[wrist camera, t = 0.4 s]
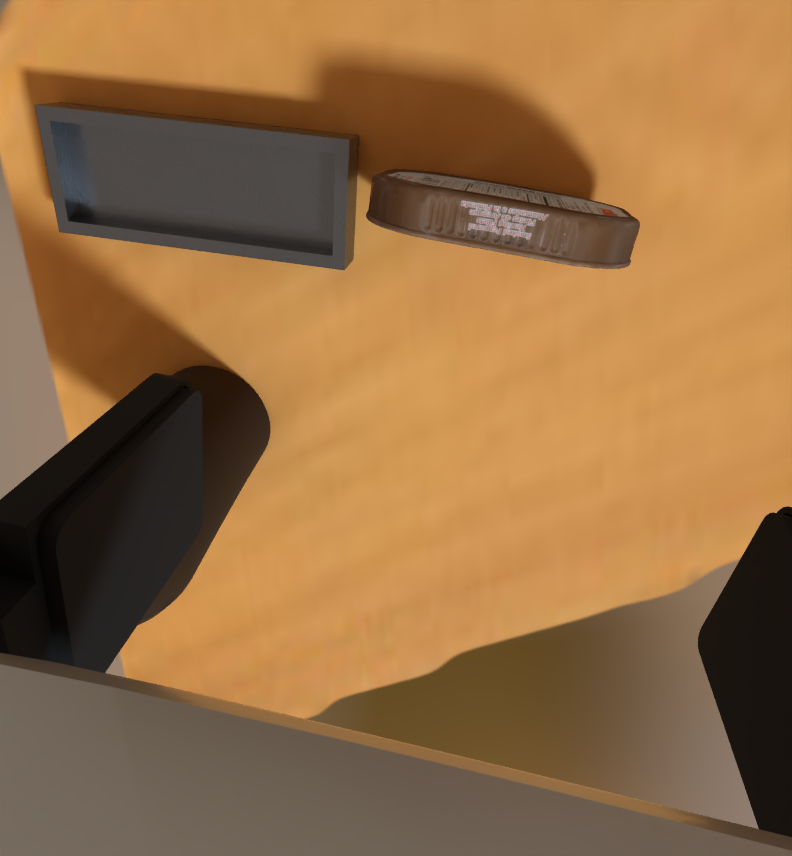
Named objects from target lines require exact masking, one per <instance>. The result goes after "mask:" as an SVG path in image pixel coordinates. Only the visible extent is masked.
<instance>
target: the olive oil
mask: <svg viewBox="0 0 792 856" xmlns="http://www.w3.org/2000/svg"><path fill="white" fill-rule="evenodd" d="M172 377H177V378H182V379H186V380H189V381H190V382H191V383H192V386H193V390H197V391H200V393H201V395H202V437H203V521H202V526H201V529H200V532H199V534H198V536H197V538H196V540H195V541H194V542H193V544H192V545H191V547H190V548H189V550H188V551H187V553H186V554H185V556H184V557H183V559H182V560H181V562H180V563H179V565H178V566H177V567H176V569H175V570H174V572H173V573H172V575H171V576H170V578H169V579H168V581H167V582H166V584H165V585H164V587H163V588H162V590H161V591H160V593H159V594H158V595H157V597H156V598H155V600H154V601H153V603H152V604H151V606H150V607H149V609H148V610H147V612H146V613H145V615H144V616H143V618H142V619H141V620H140V622H139V623H138V625H139V624H141V623H143V622H146V621H148V620H149V619H151V618H153V617H154V616H156V615H157V614H158V613H160V612H161V611H162V610H164V609H165V608H166V607H167V606H169V605H170V604H171V603H172V602H173V601H174V600H175V599H176V598H177V597H178V596H179V595H180V594H181V593H182V592H183V591H184V589H185V588H186V587H187V585H188V584H189V582H190V580H191V579H192V577H193V575H194V574H195V572H196V570H197V568H198V566H199V564H200V563H201V561H202V559H203V557H204V555H205V553H206V552H207V550H208V548H209V546H210V544H211V542H212V541H213V539H214V537H215V535H216V533H217V532H218V530H219V528H220V526H221V524H222V523H223V521H224V519H225V517H226V516H227V514H228V512H229V510H230V509H231V507H232V505H233V503H234V501H235V500H236V498H237V496H238V494H239V493H240V491H241V489H242V487H243V486H244V484H245V482H246V481H247V479H248V477H249V476H250V474H251V472H252V471H253V469H254V467H255V466H256V464H257V462H258V461H259V459H260V457H261V456H262V454H263V452H264V451H265V449H266V447H267V444H268V441H269V437H270V421H269V417H268V413H267V411H266V408H265V406H264V404H263V402H262V401H261V399H260V398H259V396H258V395H257V394H256V393H255V391H254V390H253V389H252V388H251V387H250V386H249V385H248V384H246V383H245V382H244V381H243V380H241V379H240V378H238V377H237V376H235V375H233V374H231V373H229V372H227V371H224V370H222V369H218V368H214V367H208V366H195V367H189V368H186V369H183V370H181V371H179V372H177V373H175V374H174V375H172Z"/></svg>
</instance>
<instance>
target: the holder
mask: <svg viewBox="0 0 792 856" xmlns="http://www.w3.org/2000/svg"><path fill="white" fill-rule="evenodd" d="M35 109H36V114H37V119H38V125H39V130H40V135H41V140H42V145H43V150H44V155H45V161H46V166H47V171H48V176H49V181H50V186H51V191H52V197H53V202H54V207H55V212H56V217H57V222H58V227H59V232H63V233H71V234H78V235H86V236H93V237H101V238H108V239H116V240H123V241H130V242H138V243H145V244H153V245H160V246H168V247H175V248H183V249H190V250H197V251H205V252H212V253H220V254H227V255H235V256H242V257H250V258H257V259H265V260H272V261H279V262H287V263H294V264H302V265H309V266H317V267H324V268H332V269H339V270H345V269H346V268H347V266H348V265H349V264H350V263H351V262H352V261H353V255H354V234H355V212H356V191H357V169H358V148H359V136H358V135H349V134H340V133H331V132H322V131H313V130H304V129H295V128H286V127H277V126H268V125H259V124H250V123H241V122H232V121H223V120H214V119H205V118H196V117H187V116H178V115H169V114H160V113H151V112H142V111H133V110H123V109H114V108H105V107H96V106H87V105H78V104H69V103H49V104H38V105H35Z"/></svg>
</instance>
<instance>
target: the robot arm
mask: <svg viewBox="0 0 792 856" xmlns="http://www.w3.org/2000/svg"><path fill="white" fill-rule="evenodd" d="M202 521H203V437H202V395H201V393H200V391H197V390H193V386H192V383H191V382H190V381H189V380H186V379H182V378H177V377H172V376H168V375H163V374H158V373H154V374H153V375H151V376H150V377H148V378H147V379H146V380H145V381H143V382H142V383H141V384H140V385H139V386H137V387H136V388H135V389H134V390H133V391H131V392H130V393H129V394H128V395H127V396H125V397H124V398H123V399H122V400H120V401H119V402H118V403H117V404H116V405H114V406H113V407H112V408H111V409H110V410H108V411H107V412H106V413H105V414H104V415H102V416H101V417H100V418H99V419H97V420H96V421H95V422H94V423H93V424H91V425H90V426H89V427H88V428H87V429H85V430H84V431H83V432H82V433H81V434H79V435H78V436H77V437H76V438H74V439H73V440H72V441H71V442H70V443H68V444H67V445H66V446H65V447H64V448H62V449H61V450H60V451H59V452H58V453H57V454H55V455H54V456H53V457H51V458H50V459H49V460H48V461H47V462H45V463H44V464H43V465H42V466H41V467H39V468H38V469H37V470H36V471H34V472H33V473H32V474H31V475H30V476H29V477H27V478H26V479H25V480H24V481H23V482H21V483H20V484H19V485H18V486H16V487H15V488H14V489H13V490H12V491H10V492H9V493H8V494H7V495H5V496H4V497H3V498H2V499H1V500H0V856H792V507H783V508H782V509H780V510H779V511H778V512H777V513H769V514H768V515H767V516H766V517H765V518H764V519H763V521H762V523H761V524H760V526H759V528H758V530H757V531H756V533H755V535H754V537H753V538H752V540H751V542H750V544H749V545H748V547H747V549H746V551H745V552H744V554H743V556H742V558H741V559H740V561H739V563H738V565H737V566H736V568H735V570H734V572H733V573H732V575H731V577H730V579H729V580H728V582H727V584H726V586H725V587H724V589H723V591H722V593H721V594H720V596H719V598H718V600H717V601H716V603H715V605H714V607H713V608H712V610H711V612H710V613H709V615H708V617H707V619H706V620H705V622H704V624H703V626H702V628H701V630H700V633H699V637H698V649H699V653H700V656H701V659H702V662H703V665H704V668H705V671H706V674H707V677H708V680H709V683H710V686H711V688H712V691H713V695H714V698H715V700H716V703H717V706H718V709H719V712H720V715H721V718H722V721H723V724H724V727H725V730H726V733H727V736H728V739H729V742H730V745H731V748H732V751H733V754H734V757H735V760H736V763H737V765H738V768H739V771H740V774H741V777H742V780H743V783H744V786H745V789H746V792H747V795H748V798H749V801H750V804H751V807H752V810H753V812H754V816H755V819H756V821H757V825H758V828H759V829H756V828H752V827H748V826H743V825H740V824H736V823H731V822H727V821H723V820H719V819H715V818H711V817H707V816H703V815H699V814H695V813H691V812H687V811H683V810H678V809H675V808H670V807H667V806H663V805H659V804H654V803H650V802H647V801H642V800H638V799H634V798H630V797H626V796H622V795H618V794H614V793H610V792H606V791H602V790H598V789H594V788H590V787H585V786H581V785H577V784H573V783H569V782H565V781H561V780H557V779H552V778H549V777H544V776H540V775H536V774H532V773H528V772H524V771H519V770H515V769H511V768H507V767H503V766H499V765H495V764H490V763H487V762H483V761H478V760H474V759H470V758H465V757H462V756H457V755H453V754H449V753H445V752H441V751H437V750H433V749H429V748H424V747H420V746H416V745H412V744H408V743H403V742H399V741H395V740H391V739H387V738H383V737H379V736H374V735H370V734H366V733H362V732H358V731H353V730H349V729H345V728H341V727H337V726H332V725H328V724H323V723H320V722H315V721H311V720H307V719H303V718H298V717H294V716H290V715H286V714H281V713H277V712H273V711H269V710H264V709H260V708H256V707H252V706H247V705H243V704H239V703H235V702H230V701H226V700H222V699H218V698H214V697H209V696H205V695H201V694H197V693H192V692H188V691H184V690H180V689H175V688H171V687H166V686H162V685H157V684H153V683H148V682H143V681H139V680H134V679H130V678H125V677H120V676H116V675H111V674H107V673H105V672H106V670H107V669H108V668H109V666H110V665H111V663H112V662H113V660H114V658H115V657H116V656H117V654H118V653H119V651H120V650H121V648H122V647H123V645H124V644H125V643H126V641H127V640H128V638H129V637H130V635H131V634H132V632H133V631H134V629H135V628H136V626H137V625H138V623H139V622H140V620H141V619H142V618H143V616H144V615H145V613H146V612H147V610H148V609H149V607H150V606H151V604H152V603H153V601H154V600H155V598H156V597H157V595H158V594H159V593H160V591H161V590H162V588H163V587H164V585H165V584H166V582H167V581H168V579H169V578H170V576H171V575H172V573H173V572H174V570H175V569H176V567H177V566H178V565H179V563H180V562H181V560H182V559H183V557H184V556H185V554H186V553H187V551H188V550H189V548H190V547H191V545H192V544H193V542H194V541H195V540H196V538H197V536H198V534H199V532H200V529H201V526H202Z"/></svg>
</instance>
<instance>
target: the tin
mask: <svg viewBox="0 0 792 856" xmlns="http://www.w3.org/2000/svg"><path fill="white" fill-rule="evenodd" d="M366 217H367V219H368V220H369V221H371V222H372V223H374V224H375V225H378V226H380V227H383V228H386V229H389V230H392V231H395V232H399V233H403V234H407V235H410V236H415V237H421V238H425V239H430V240H436V241H441V242H446V243H452V244H458V245H463V246H468V247H473V248H480V249H486V250H491V251H496V252H501V253H507V254H512V255H518V256H523V257H528V258H534V259H539V260H544V261H550V262H555V263H560V264H566V265H572V266H579V267H589V268H598V269H599V268H602V269H620V268H625V267H627V266H629V265H630V262H631V260H630V257H631V254H632V250H633V247H634V244H635V241H636V238H637V235H638V232H639V227H640V222H639V221H638V220H637V219H636V218H634V217H633V216H631V215H630V214H629V213H628V212H627V211H625V210H624V209H622V208H619V207H616V206H613V205H609V204H605V203H601V202H596V201H592V200H588V199H583V198H578V197H573V196H568V195H562V194H557V193H551V192H546V191H540V190H535V189H530V188H525V187H520V186H514V185H509V184H503V183H497V182H492V181H486V180H479V179H473V178H467V177H460V176H454V175H447V174H441V173H433V172H425V171H417V170H405V169H393V170H388V171H386V172H384V173H379V174H376V175H375V176H374V177H373V180H372V186H371V194H370V203H369V210H368V212H367V214H366Z"/></svg>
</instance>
